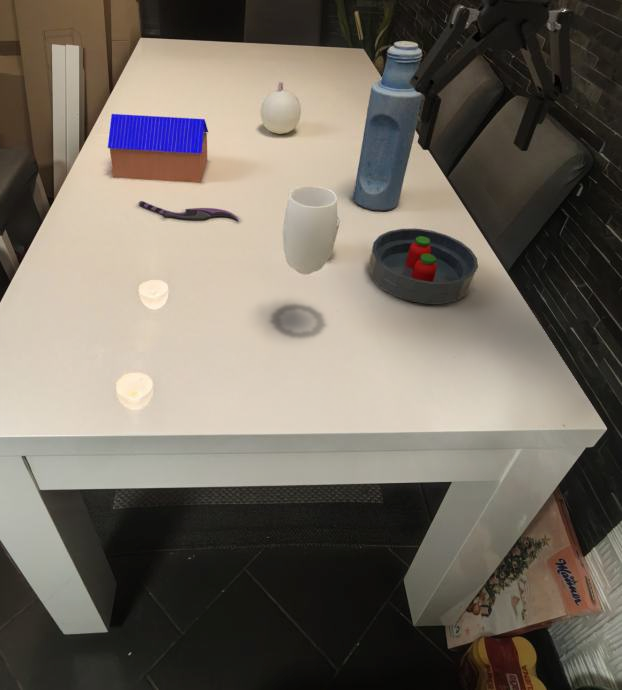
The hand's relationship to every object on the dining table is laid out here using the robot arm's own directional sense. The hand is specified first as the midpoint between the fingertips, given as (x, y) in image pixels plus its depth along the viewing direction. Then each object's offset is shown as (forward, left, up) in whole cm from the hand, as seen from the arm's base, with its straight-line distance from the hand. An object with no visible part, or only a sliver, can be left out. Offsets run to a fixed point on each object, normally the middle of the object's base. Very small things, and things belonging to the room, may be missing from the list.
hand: (471, 147), depth 75 cm
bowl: (+4, -3, -25) cm, 25 cm away
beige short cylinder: (+20, +6, -25) cm, 32 cm away
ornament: (+68, -29, -25) cm, 78 cm away
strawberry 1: (+6, -5, -24) cm, 25 cm away
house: (+67, +8, -25) cm, 72 cm away
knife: (+46, +16, -25) cm, 55 cm away
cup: (+8, +22, -25) cm, 34 cm away
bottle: (+27, -19, -25) cm, 41 cm away
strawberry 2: (+2, -1, -24) cm, 24 cm away
